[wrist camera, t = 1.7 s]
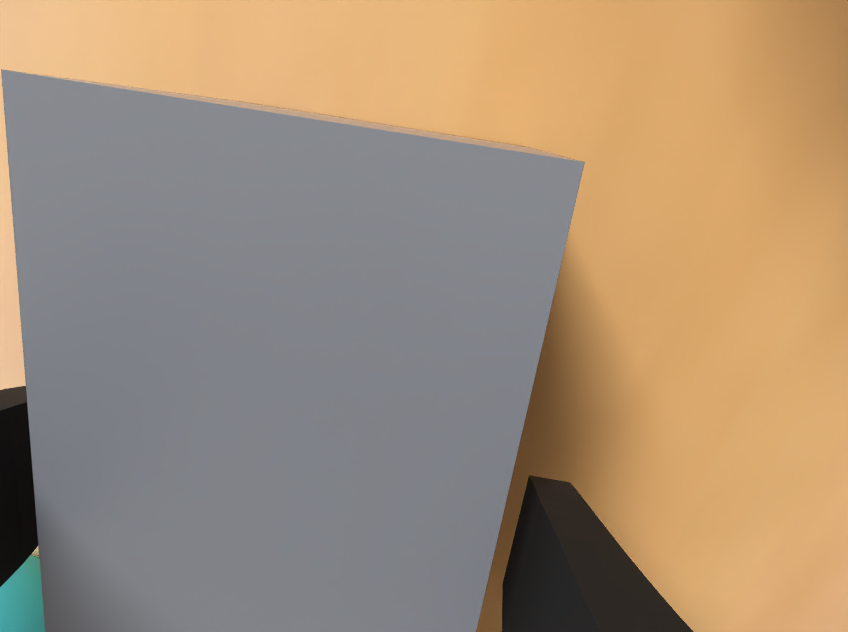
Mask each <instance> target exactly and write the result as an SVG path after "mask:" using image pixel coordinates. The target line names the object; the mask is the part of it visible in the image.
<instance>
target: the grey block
mask: <svg viewBox="0 0 848 632" xmlns="http://www.w3.org/2000/svg"><path fill="white" fill-rule="evenodd" d="M1 73H2V86H3V99H4V111H5V124H6V137H7V150H8V163H9V175H10V188H11V201H12V214H13V227H14V239H15V252H16V265H17V278H18V291H19V303H20V316H21V329H22V342H23V355H24V367H25V380H26V393H27V406H28V419H29V431H30V444H31V457H32V470H33V483H34V495H35V508H36V521H37V534H38V547H39V559H40V572H41V585H42V598H43V611H44V623H45V632H476V630H477V626H478V621H479V617H480V613H481V608H482V604H483V600H484V595H485V591H486V587H487V582H488V578H489V574H490V569H491V565H492V561H493V556H494V552H495V548H496V543H497V539H498V535H499V530H500V526H501V522H502V517H503V513H504V509H505V504H506V500H507V496H508V491H509V487H510V483H511V479H512V474H513V470H514V466H515V461H516V457H517V453H518V448H519V444H520V440H521V435H522V431H523V427H524V422H525V418H526V414H527V409H528V405H529V401H530V396H531V392H532V388H533V383H534V379H535V375H536V370H537V366H538V362H539V357H540V353H541V349H542V344H543V340H544V336H545V331H546V327H547V323H548V319H549V314H550V310H551V306H552V301H553V297H554V293H555V288H556V284H557V280H558V275H559V271H560V267H561V262H562V258H563V254H564V249H565V245H566V241H567V236H568V232H569V228H570V223H571V219H572V215H573V210H574V206H575V202H576V197H577V193H578V189H579V184H580V180H581V176H582V171H583V167H584V163H585V162H582V161H578V160H575V159H571V158H567V157H563V156H560V155H556V154H552V153H548V152H545V151H541V150H537V149H533V148H530V147H524V146H518V145H511V144H505V143H499V142H492V141H486V140H480V139H474V138H467V137H461V136H455V135H448V134H442V133H436V132H429V131H423V130H417V129H410V128H404V127H398V126H391V125H385V124H379V123H373V122H366V121H360V120H354V119H347V118H341V117H335V116H328V115H322V114H316V113H309V112H303V111H297V110H290V109H284V108H278V107H272V106H265V105H259V104H253V103H246V102H240V101H233V100H225V99H218V98H210V97H203V96H195V95H188V94H180V93H173V92H165V91H158V90H150V89H143V88H136V87H128V86H121V85H113V84H106V83H98V82H91V81H83V80H76V79H68V78H61V77H53V76H46V75H38V74H31V73H24V72H16V71H9V70H1Z"/></svg>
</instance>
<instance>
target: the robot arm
mask: <svg viewBox="0 0 848 632" xmlns="http://www.w3.org/2000/svg"><path fill="white" fill-rule="evenodd" d="M37 546H38V534H37V521H36V508H35V495H34V483H33V470H32V457H31V444H30V431H29V419H28V406H27V393H26V386H22V387H15V388H9V389H3V390H0V587H1V586H2V585H3V584H4V583H5V582H6V581H7V580H8V579H9V578H10V577H11V576H12V575H13V574H14V573H15V572H16V571H17V570H18V569H19V568H20V567H21V565H22V564H23V563H24V562H25V561H26V560H27V558H28V557H29V556H30V555H31V554H32V552H33V551H34V550H35V549H36V547H37ZM502 632H693V631H692V630H691V629H690V628H689V626H688V625H687V624H686V623H685V622H684V621H683V620H682V619H681V618H680V617H679V615H678V614H677V613H676V612H675V611H674V610H673V609H672V607H671V606H670V605H669V604H668V603H667V602H666V601H665V599H664V598H663V597H662V596H661V595H660V594H659V593H658V591H657V590H656V589H655V588H654V587H653V585H652V584H651V583H650V582H649V581H648V580H647V578H646V577H645V576H644V575H643V573H642V572H641V571H640V570H639V569H638V567H637V566H636V565H635V564H634V563H633V561H632V560H631V559H630V558H629V556H628V555H627V554H626V553H625V551H624V550H623V549H622V548H621V546H620V545H619V544H618V543H617V541H616V540H615V539H614V538H613V536H612V535H611V534H610V533H609V531H608V530H607V529H606V527H605V526H604V525H603V524H602V522H601V521H600V520H599V518H598V517H597V516H596V515H595V513H594V512H593V511H592V509H591V508H590V507H589V506H588V504H587V503H586V502H585V500H584V499H583V498H582V497H581V495H580V494H579V493H578V492H577V490H576V489H575V488H574V487H573V486H572V484H571V483H569V482H564V481H558V480H552V479H547V478H541V477H535V476H530V475H529V478H528V482H527V486H526V491H525V495H524V499H523V503H522V507H521V511H520V515H519V519H518V523H517V528H516V532H515V536H514V540H513V544H512V548H511V552H510V556H509V560H508V564H507V569H506V573H505V577H504V581H503V603H502Z"/></svg>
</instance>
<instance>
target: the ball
mask: <svg viewBox="0 0 848 632" xmlns="http://www.w3.org/2000/svg"><path fill="white" fill-rule="evenodd" d="M0 632H45V623H44V611H43V598H42V585H41V572H40V559H39V558H38V557H35V556H32V555H30V556H29V557H28V558H27V560H26V561H25V562H24V563H23V564H22V565H21V567H20V568H19V569H18V570H17V571H16V572H15V573H14V574H13V575H12V576H11V577H10V578H9V579H8V580H7V581H6V582H5V583H4V584H3V585H2V586H1V587H0Z"/></svg>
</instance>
